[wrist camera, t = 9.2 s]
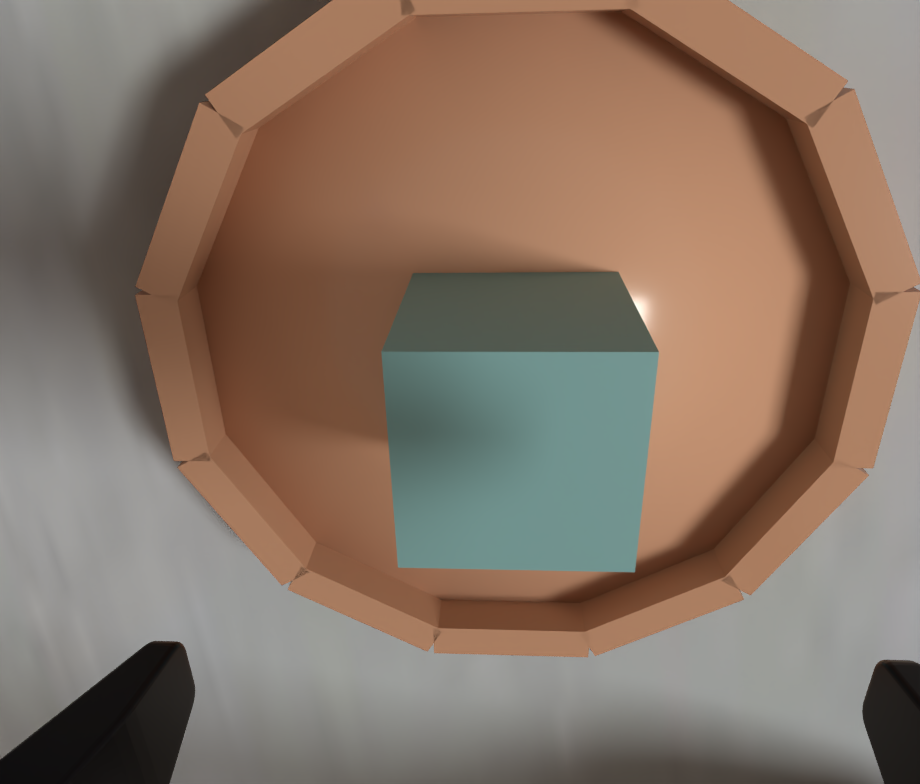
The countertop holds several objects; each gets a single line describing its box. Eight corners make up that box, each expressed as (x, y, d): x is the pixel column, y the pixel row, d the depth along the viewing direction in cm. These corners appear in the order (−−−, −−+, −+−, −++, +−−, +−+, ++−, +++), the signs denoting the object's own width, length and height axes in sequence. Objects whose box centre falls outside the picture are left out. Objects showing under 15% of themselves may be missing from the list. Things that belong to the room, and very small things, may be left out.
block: (618, 271, 17) (658, 351, 13) (604, 450, 19) (635, 572, 15) (413, 273, 17) (381, 351, 13) (422, 448, 20) (398, 567, 15)
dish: (956, -52, 15) (1019, -66, 13) (794, 613, 22) (819, 663, 21) (109, -24, 16) (58, -34, 14) (239, 601, 23) (217, 647, 22)
